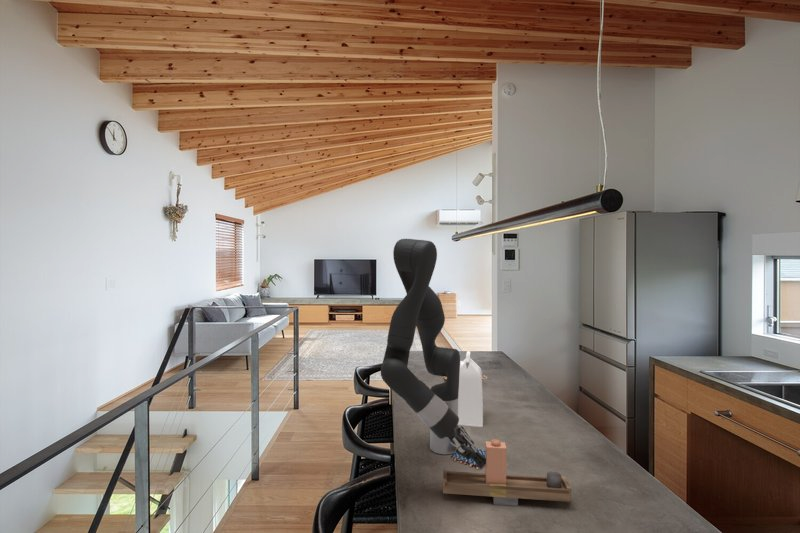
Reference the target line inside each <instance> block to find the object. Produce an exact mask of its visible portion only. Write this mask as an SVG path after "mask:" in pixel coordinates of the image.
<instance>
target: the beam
mask: <svg viewBox="0 0 800 533" xmlns="http://www.w3.org/2000/svg"><path fill="white" fill-rule="evenodd" d="M442 493H443V494H446V495H447V494H448V495H449V494H450V495H461V496H462V495H466V496H479V497H492V501H493V505H500V506H514V507H519V499H523V500H524V499H525V500H538V501H539V500H540V501H541V500H542V501H552V502H553V501H554V502H555V501H556V502H568V503H571V502H572V487H571V485H570V483H569V481H568V480H567V478H566V476H565V475H562V474H560V473H559V472H557V471H547V473H546V476H536V475H535V476H534V475H532V476H531V475H520V474H519V475H517V474H515V475H514V474H506V484H486V480H485V472H467V471H451V470H448V469H447V468H443V469H442Z"/></svg>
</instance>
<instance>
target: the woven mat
mask: <svg viewBox="0 0 800 533" xmlns="http://www.w3.org/2000/svg"><path fill="white" fill-rule="evenodd" d="M476 450H477V451H478V452H479V453H480V454H481V455H482V456H483V457H484V458H485V449H484V450H483V449H481V448H479V447H476ZM450 458H451V461H454V462H456V463H460V464H463V465H466V466H467V467H470V468H472V469H476V470H480V469H482V468H483V467H479V466H478V465H477V463H476V462H475V461H474V460H473V459H472V458H470V459H467V458H465V457H463V456H461V455H459V454H458V453H457V452H455V453H452V454H451V456H450Z"/></svg>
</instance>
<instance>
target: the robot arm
mask: <svg viewBox="0 0 800 533" xmlns="http://www.w3.org/2000/svg"><path fill="white" fill-rule="evenodd" d="M394 244H395V245H394V247H393V252H392V254H393V262H394V265H395V268H396V271H397V274H398V276H399V278H400V280H401V283H402V285H403V287H404V290H405V293H406V294H405V297H404V298H403V299H401V301H400V302H399V304H398V305H397V306H396V308H395V309H394V311H393V313H392V315H391V319H390V323H389V328H388V334H387V341H386V342H387V345H386V348H385V351H384V354H383V359H382V363H381V368H380V376H381V379H382V380H383V382H384V383H385V384H386V385H387V386H388V387H389V388H390V389H391V390H392V391H393V392H394V393H396V395H397V396H399V398H400V397H401V398H402V399H403V400H404V401H405V403H406V404H407V405H408V406H409V408H411V409H412V410H413V412H414V413H416V415H417V416H418V417H419V418H420V420H421V421H422V422H423V423H424V425H426V426H427V427H428V429H429V449H430V450H431V451H432V452H433V453H435V454H439V455H452V454H455V452H457V453H458V454H459V455H461V456H463V457H465V458H467V459H470V458H472V459H473V460H474V461H475V462H476V463H477V465H478V466H479V467H482V468H483V467H484V466H485V464H486V459H485V458H484V457H483V456H482V455H481V454H480V453H479V452H478V451H477V450H476V448H477V447H476V445H475V442H474V441H473V439H472V438H471V436H470V435H469V434H468V432H467V431H466V429H465V428H464V427H463V425H460V426H459V425H458V422H459V417H458V392H459V373H460V361H461V354H460V351H459V350H458V349H456V348H452V347H441V346H437V345H436V339H437V338H438V336H439V334H440V333H441V331H442V329H443V328H444V325H445V321H446V317H445V311H444V308H443V304H442V302H441V299H440V298H439V296H438V295H437V293H436V292H435V291H434V290H433V289H432V287H431V286H430V284H431V280H432V277H433V274H434V271H435V268H436V264H437V258H438V251H437V246H436V244H435V243H434V242H432V241H431V240H426V239H425V240H424V239H413V238H401V239H399V240H397V241H396V242H395V243H394ZM416 330H417V332H418V336H419V339H420V343H421V348H422V354H423V360H424V364H425V368H426V371H427V372H428V374H430V375H433V376H437V377H444V378H446V381H445V382H442V383H438V384H434V385H432V386H431V388H430V387H429V386H428V385H427V384H426V383H424V381H422V380H420V379H419V378H418V377H417V376H416V375H415V374H414V373H413V372H412V371H411V369H410V368H409V366H408V364H409V358H410V351H411V348H412V346H413V343H414V338H415V333H416Z"/></svg>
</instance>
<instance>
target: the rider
mask: <svg viewBox="0 0 800 533" xmlns="http://www.w3.org/2000/svg"><path fill="white" fill-rule="evenodd" d="M484 451H485V459H486V464H485V465H484V466H485V467H484V468H485V469H484V473H485V480H486V484H506V475H507V446H506V442H505V441H504V442H503V441H501V440H500V439H497V438H493V439H491V440H490V441H487V440H486V441H485V448H484Z"/></svg>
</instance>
